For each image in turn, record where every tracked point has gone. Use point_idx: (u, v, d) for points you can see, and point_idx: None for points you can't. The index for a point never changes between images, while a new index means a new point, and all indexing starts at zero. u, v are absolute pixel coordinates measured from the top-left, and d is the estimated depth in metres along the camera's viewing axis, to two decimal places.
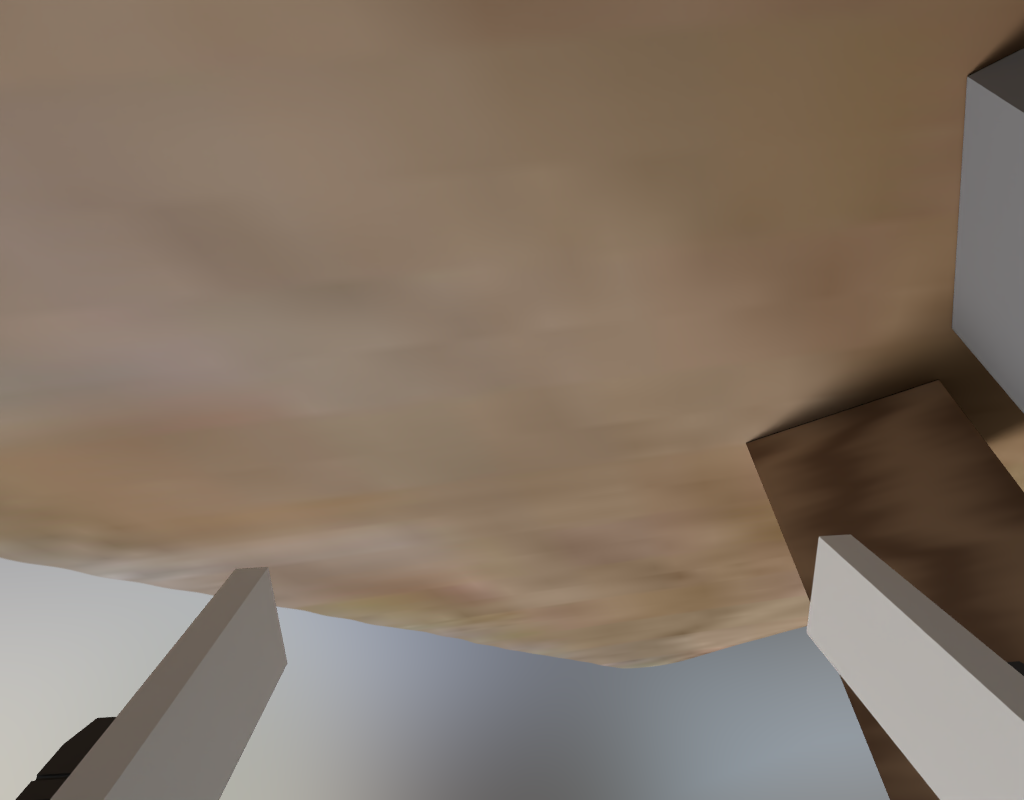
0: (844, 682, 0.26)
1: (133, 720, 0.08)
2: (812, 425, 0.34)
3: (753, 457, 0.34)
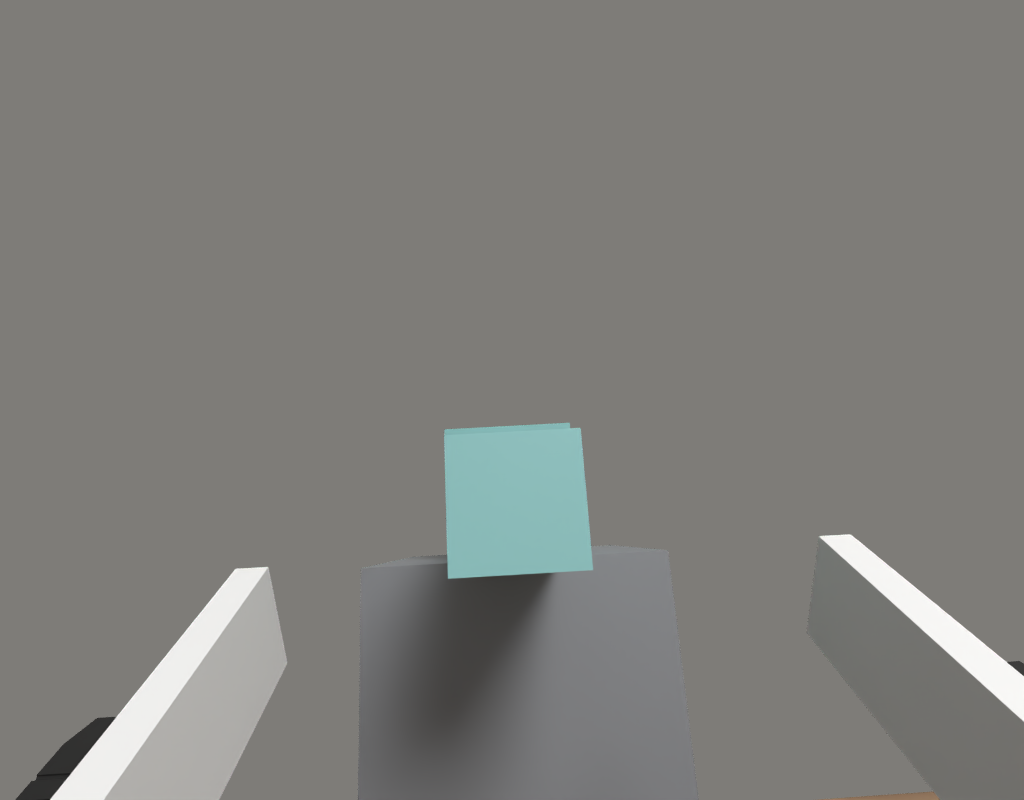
0: None
1: (133, 720, 0.08)
2: None
3: None
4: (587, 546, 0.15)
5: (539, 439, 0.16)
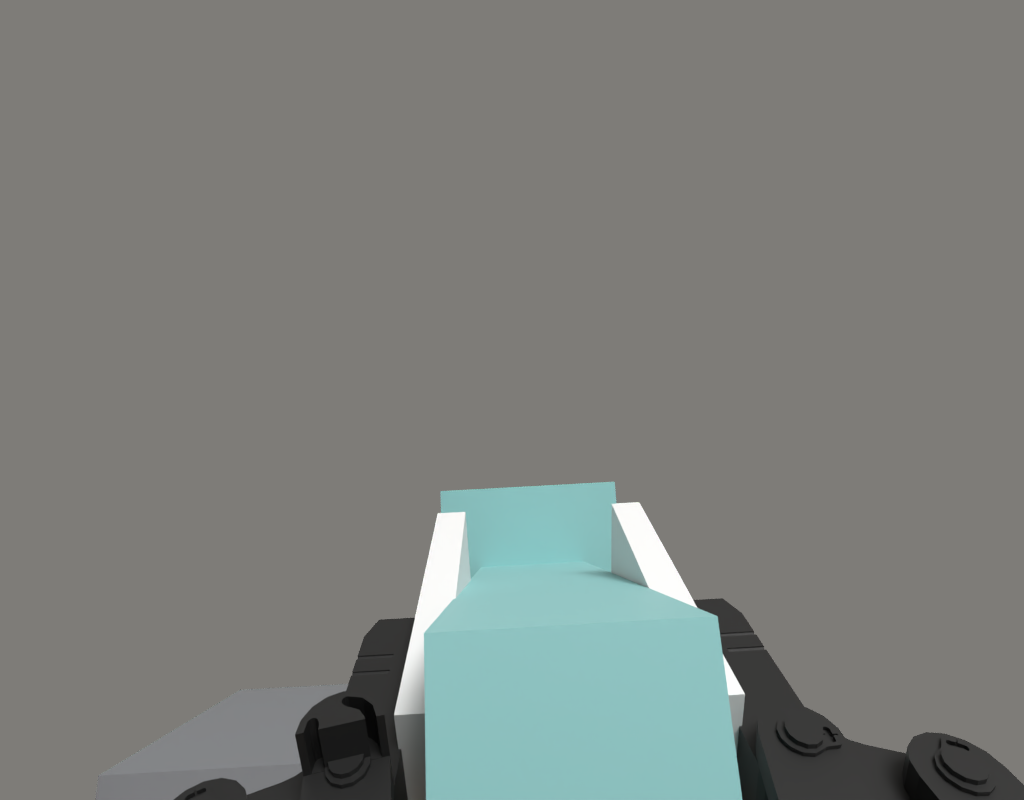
0: None
1: (432, 613, 0.11)
2: None
3: None
4: None
5: (630, 643, 0.07)
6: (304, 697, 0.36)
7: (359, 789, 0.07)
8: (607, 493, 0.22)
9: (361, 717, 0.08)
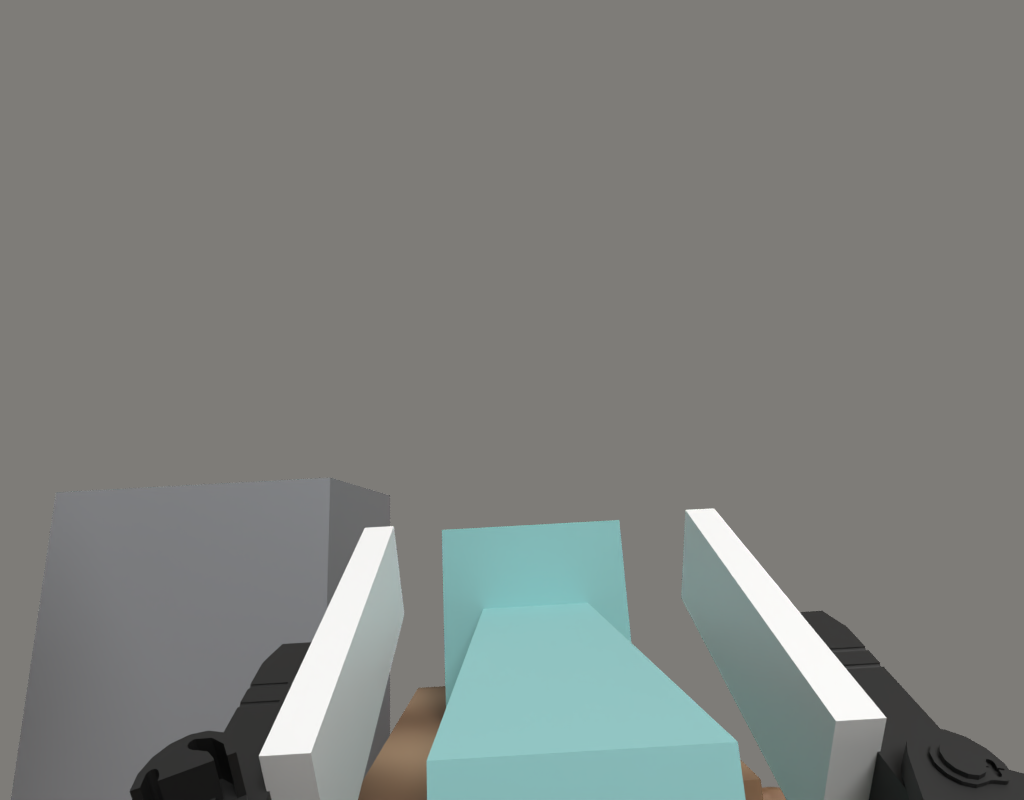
0: None
1: (330, 639, 0.10)
2: None
3: None
4: None
5: (645, 773, 0.07)
6: None
7: None
8: (612, 532, 0.21)
9: (209, 759, 0.07)
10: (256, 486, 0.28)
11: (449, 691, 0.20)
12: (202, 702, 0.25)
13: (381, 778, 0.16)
